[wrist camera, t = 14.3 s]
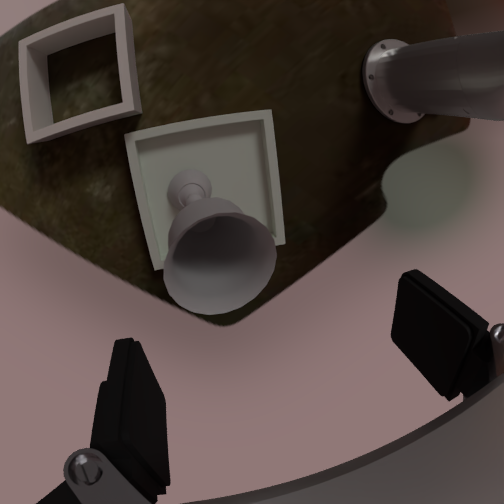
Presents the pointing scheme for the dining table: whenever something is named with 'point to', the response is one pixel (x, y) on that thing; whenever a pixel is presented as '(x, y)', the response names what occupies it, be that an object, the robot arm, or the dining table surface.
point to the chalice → (214, 249)
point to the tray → (207, 170)
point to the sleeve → (65, 36)
